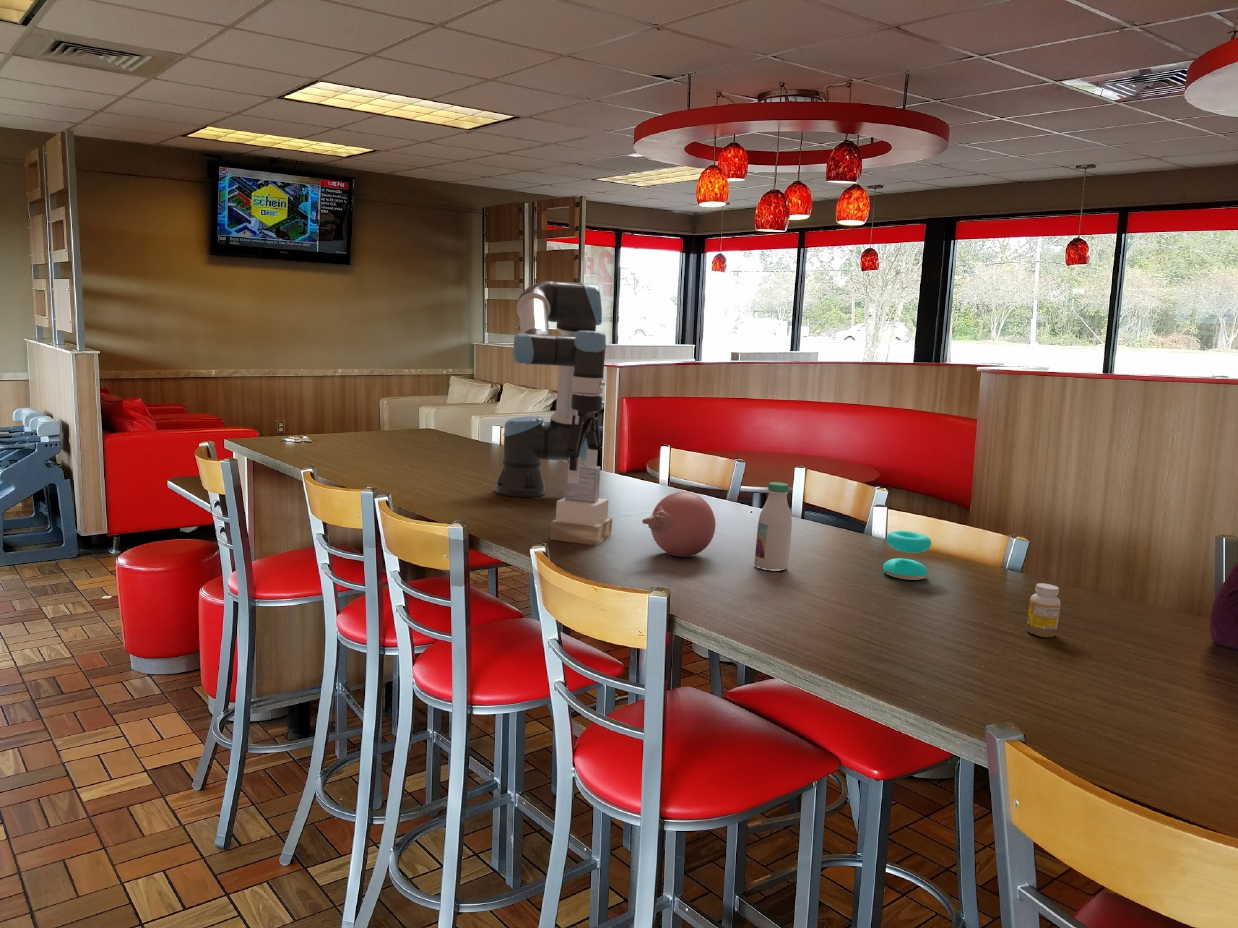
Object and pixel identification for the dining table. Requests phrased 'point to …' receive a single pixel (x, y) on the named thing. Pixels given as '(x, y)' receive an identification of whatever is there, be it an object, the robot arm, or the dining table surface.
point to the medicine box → (584, 485)
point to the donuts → (907, 544)
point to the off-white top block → (582, 511)
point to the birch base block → (581, 532)
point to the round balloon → (682, 524)
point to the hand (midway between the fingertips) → (582, 479)
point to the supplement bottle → (1044, 607)
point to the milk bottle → (774, 529)
